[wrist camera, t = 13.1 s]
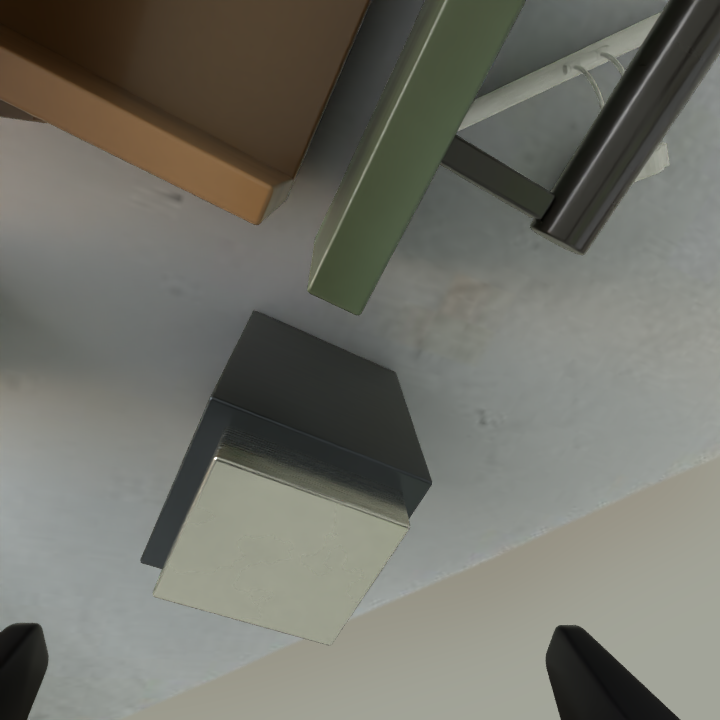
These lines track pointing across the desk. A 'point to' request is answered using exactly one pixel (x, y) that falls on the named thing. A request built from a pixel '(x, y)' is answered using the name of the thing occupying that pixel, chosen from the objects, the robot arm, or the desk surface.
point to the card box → (290, 486)
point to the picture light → (567, 70)
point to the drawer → (309, 100)
